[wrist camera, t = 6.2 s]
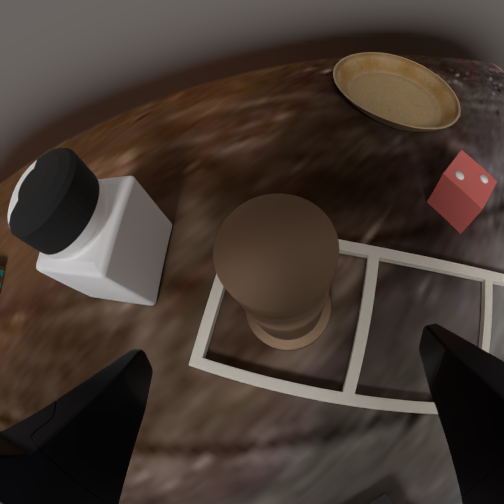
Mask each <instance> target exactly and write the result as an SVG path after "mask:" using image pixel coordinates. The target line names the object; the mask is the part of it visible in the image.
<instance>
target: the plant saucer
mask: <svg viewBox="0 0 504 504" xmlns="http://www.w3.org/2000/svg"><path fill="white" fill-rule="evenodd" d="M333 78H334V81H335V83H336V85H337V87H338V88H339V90H340V91H341V92H342V93H343V95H344V96H345V97H346V98H347V99H348V100H349V101H350V102H351V103H352V104H353V105H354V106H355V107H357V108H358V109H359V110H360V111H362V112H363V113H364V114H366V115H367V116H369V117H370V118H372V119H374V120H376V121H378V122H380V123H382V124H384V125H387V126H389V127H392V128H396V129H399V130H404V131H411V132H429V131H436V130H440V129H444V128H446V127H449V126H451V125H453V124H454V123H455V122H456V121H457V120H458V118H459V117H460V112H461V110H460V104H459V101H458V98H457V96H456V95H455V93H454V92H453V90H452V89H451V87H450V86H449V85H448V84H447V83H446V82H445V81H444V80H443V79H442V78H440V77H439V76H438V75H436V74H435V73H434V72H432V71H431V70H429V69H427V68H426V67H424V66H422V65H420V64H418V63H416V62H414V61H411V60H409V59H406V58H403V57H399V56H396V55H391V54H387V53H378V52H365V53H357V54H353V55H349V56H347V57H345V58H343V59H341V60H340V61H339V62H338V63H337V64H336V66H335V67H334V70H333Z"/></svg>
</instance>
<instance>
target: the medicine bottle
mask: <svg viewBox="0 0 504 504" xmlns="http://www.w3.org/2000/svg"><path fill="white" fill-rule="evenodd" d="M8 223H9V227H10V230H11V232H12V234H13V235H14V236H16V237H17V238H19V239H20V240H22V241H24V242H25V243H27V244H28V245H30V246H31V247H33V248H35V249H36V250H38V251H40V254H39V257H38V260H37V264H36V268H37V270H38V271H40V272H42V273H44V274H45V275H47V276H49V277H51V278H53V279H55V280H57V281H59V282H61V283H63V284H65V285H67V286H69V287H71V288H73V289H76V290H78V291H80V292H82V293H84V294H86V295H88V296H90V297H96V298H103V299H109V300H115V301H122V302H129V303H136V304H143V305H155V303H156V300H157V295H158V290H159V284H160V279H161V274H162V270H163V265H164V260H165V255H166V251H167V246H168V242H169V238H170V233H171V229H172V223H171V222H170V221H169V219H168V218H167V217H166V216H165V215H164V213H163V212H162V211H161V210H160V209H159V207H158V206H157V205H156V204H155V202H154V201H153V200H152V199H151V197H150V196H149V195H148V194H147V192H146V191H145V190H144V189H143V187H142V186H141V185H140V184H139V182H138V181H137V180H136V179H135V177H133V176H123V177H115V178H107V179H100V180H99V179H98V178H97V177H96V176H95V175H94V174H93V172H92V171H91V170H90V169H89V168H88V167H87V166H86V165H85V164H84V163H83V161H82V160H81V159H80V158H79V157H78V156H77V155H76V154H75V152H74V151H72V150H71V149H69V148H57V149H54V150H51V151H49V152H48V153H46V154H44V155H43V156H42V157H40V158H39V159H38V160H36V161H35V162H34V163H33V164H32V165H31V166H30V167H29V168H28V169H27V170H26V172H25V173H24V174H23V176H22V177H21V179H20V180H19V182H18V184H17V186H16V188H15V190H14V192H13V195H12V198H11V201H10V204H9V209H8Z"/></svg>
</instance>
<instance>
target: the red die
mask: <svg viewBox="0 0 504 504" xmlns="http://www.w3.org/2000/svg"><path fill="white" fill-rule="evenodd" d="M496 183H497V181H496V180H495V179H494V178H493V177H492V176H491V175H490V174H489V173H488V172H486V171H485V170H484V169H483V168H482V167H481V166H480V165H479V164H478V163H476V162H475V161H474V160H473V159H472V158H471V157H469V156H468V155H467V154H466V153H465V152H463V151H462V150H461V151H460V153H459V154H458V155H457V156H456V158H455V159H454V160H453V162H452V163H451V164H450V165H449V167H448V168H447V169H446V170H445V172H444V173H443V175H442V176H441V178H440V180H439V182H438V184H437V185H436V187H435V189H434V191H433V192H432V194H431V196H430V197H429V199H428V201H427V203H428V204H429V205H430V206H431V207H433V208H434V209H435V210H436V211H437V212H438V213H439V214H440V215H441V216H442V217H443V218H444V219H446V220H447V221H448V222H449V223H450V224H451V225H452V226H453V227H454V228H455V229H456V230H457V231H458V232H459V233H460V234H461V233H462V232H463V231H464V230H465V229H466V227H467V226H468V225H469V224H470V223H471V222H472V221H473V220H474V218H475V217H476V216H477V215H478V214H479V213H480V212H481V210H482V209H483V207H484V206H485V204H486V202H487V200H488V198H489V196H490V195H491V193H492V191H493V189H494V187H495V185H496Z"/></svg>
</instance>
